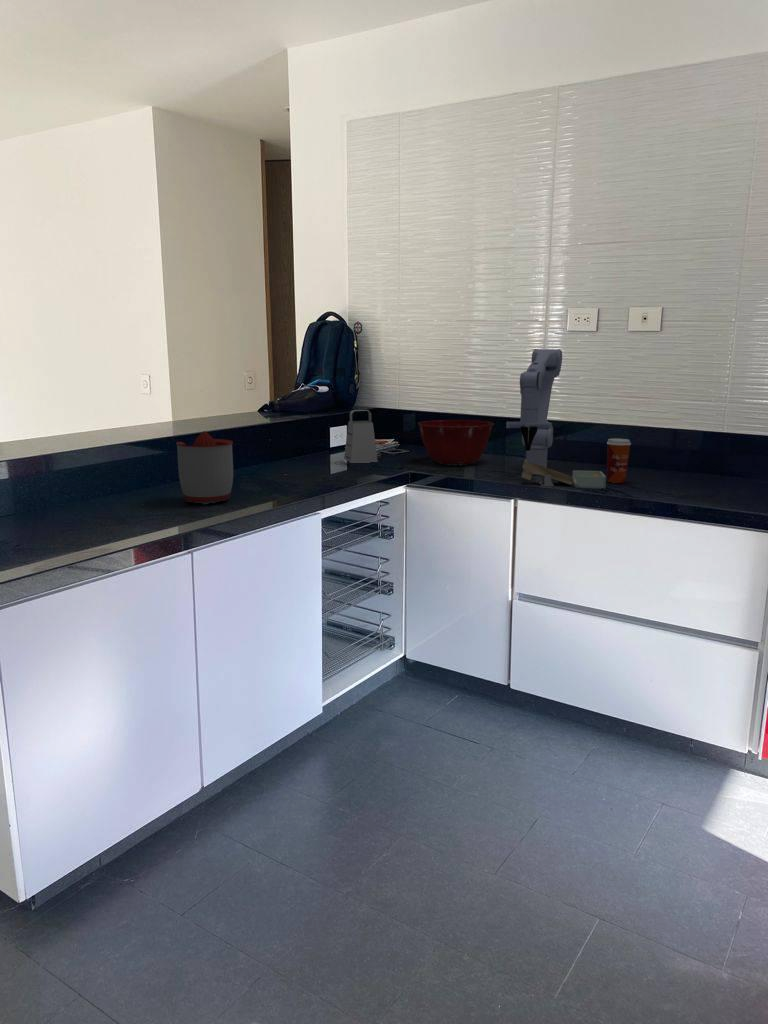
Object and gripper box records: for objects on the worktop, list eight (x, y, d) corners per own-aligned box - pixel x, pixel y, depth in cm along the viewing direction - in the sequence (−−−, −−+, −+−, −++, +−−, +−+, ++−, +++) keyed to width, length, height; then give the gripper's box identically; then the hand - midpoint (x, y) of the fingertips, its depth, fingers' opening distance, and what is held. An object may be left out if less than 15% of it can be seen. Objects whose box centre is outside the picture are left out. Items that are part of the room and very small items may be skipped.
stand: (539, 481, 245) (539, 470, 244) (551, 482, 244) (552, 470, 243) (541, 486, 237) (541, 474, 236) (553, 486, 236) (554, 474, 236)
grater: (343, 462, 284) (343, 409, 280) (370, 461, 287) (370, 408, 283) (350, 466, 274) (350, 411, 270) (378, 465, 277) (378, 411, 273)
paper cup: (612, 484, 240) (615, 441, 237) (599, 480, 247) (602, 438, 244) (633, 483, 242) (636, 440, 239) (620, 479, 249) (623, 437, 246)
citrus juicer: (208, 493, 224) (205, 426, 220) (246, 500, 214) (244, 430, 209) (164, 501, 213) (160, 431, 208) (202, 509, 202) (198, 435, 198)
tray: (572, 481, 245) (572, 470, 244) (600, 482, 244) (601, 471, 243) (576, 488, 234) (576, 476, 233) (605, 488, 233) (606, 476, 232)
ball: (592, 471, 239) (601, 475, 239) (587, 480, 240) (596, 484, 240) (594, 473, 236) (603, 477, 236) (589, 482, 237) (598, 486, 237)
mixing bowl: (404, 460, 290) (404, 420, 286) (467, 456, 301) (468, 417, 298) (439, 471, 265) (440, 427, 261) (507, 466, 276) (508, 424, 273)
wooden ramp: (518, 470, 251) (523, 456, 249) (564, 486, 250) (570, 471, 248) (520, 477, 238) (525, 461, 237) (569, 493, 237) (575, 478, 236)
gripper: (507, 409, 240) (505, 451, 243) (553, 410, 238) (551, 452, 241) (506, 407, 247) (505, 448, 250) (551, 408, 245) (549, 449, 248)
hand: (527, 450), depth 246 cm, fingers closed
